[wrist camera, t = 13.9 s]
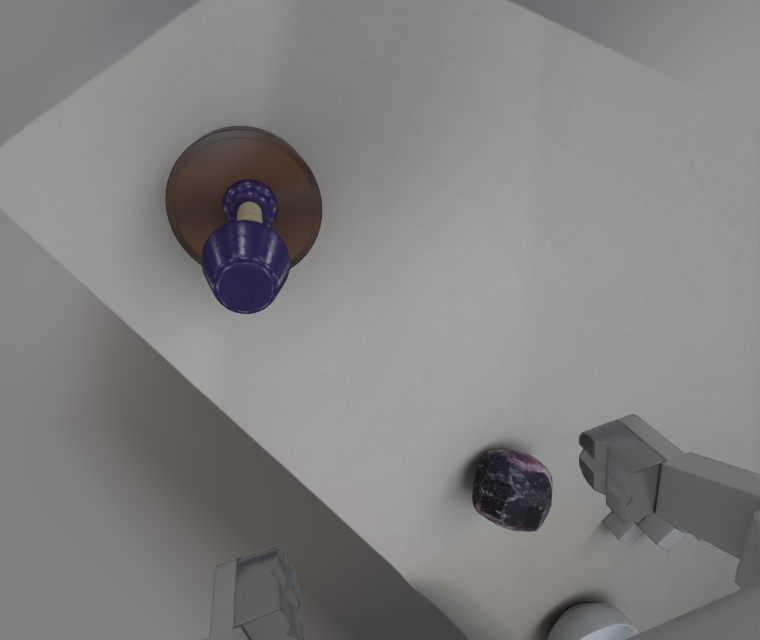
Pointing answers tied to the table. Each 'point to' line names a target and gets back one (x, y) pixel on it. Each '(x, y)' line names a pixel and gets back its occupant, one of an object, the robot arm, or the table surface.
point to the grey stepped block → (647, 531)
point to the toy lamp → (246, 250)
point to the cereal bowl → (592, 624)
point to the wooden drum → (234, 163)
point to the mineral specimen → (512, 490)
